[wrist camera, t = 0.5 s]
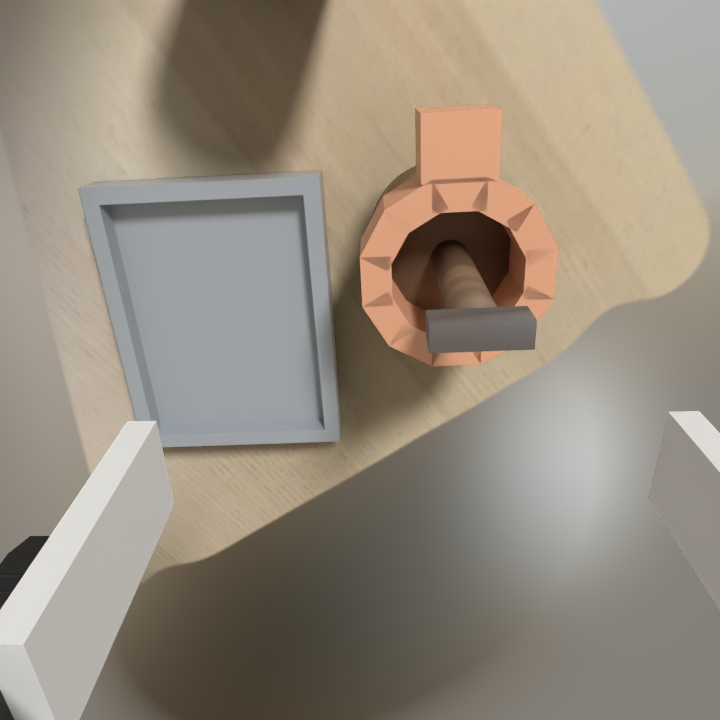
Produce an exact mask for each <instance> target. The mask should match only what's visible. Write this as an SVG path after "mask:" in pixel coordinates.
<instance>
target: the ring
mask: <svg viewBox="0 0 720 720" xmlns="http://www.w3.org/2000/svg"><path fill="white" fill-rule="evenodd" d="M502 115H503V109H502V108H499V107H495V106H492V105H489V104H486V105H468V106H450V107H432V108H415V125H416V175H414V176H413V177H411V178H410V179H408V180H407V181H405V182H404V183H402V184H401V185H399V186H398V187H396V188H395V189H393V190H391V191H390V192H388V193H387V194H385V195H384V196H383V197H382V199H381V201H380V203H379V205H378V207H377V209H376V211H375V213H374V215H373V217H372V218H371V220H370V222H369V224H368V226H367V228H366V230H365V232H364V234H363V236H362V238H361V245H360V273H361V292H362V307H363V309H364V310H365V312H366V313H367V315H368V316H369V318H370V319H371V320H372V322H373V323H374V325H375V326H376V328H377V329H378V331H379V332H380V334H381V335H382V337H383V338H384V339H385V341H386V342H387V344H388V345H389V346H390V347H392V348H394V349H396V350H398V351H400V352H403V353H405V354H407V355H409V356H411V357H413V358H415V359H417V360H419V361H421V362H424V363H426V364H428V365H430V366H457V365H481V364H483V363H485V362H486V361H488V360H490V359H492V358H494V357H496V356H498V355H499V354H501V353H503V352H505V351H481V352H456V353H430V354H429V350H428V345H427V340H426V310H424V309H422V308H420V307H418V306H416V305H414V304H412V303H410V302H408V301H406V299H405V298H404V296H403V295H402V293H401V292H400V290H399V289H398V287H397V285H396V284H395V282H394V281H393V279H392V269H391V264H392V262H393V261H394V259H395V257H396V255H397V253H398V252H399V250H400V248H401V246H402V244H403V242H404V241H405V239H406V237H407V235H408V233H409V232H411V231H413V230H414V229H416V228H417V227H419V226H421V225H422V224H424V223H425V222H427V221H429V220H430V219H432V218H433V217H435V216H437V215H438V214H440V213H449V212H470V211H479V212H481V213H483V214H485V215H486V216H488V217H490V218H492V219H494V220H496V221H498V222H499V223H501V224H503V226H504V228H505V230H506V232H507V234H508V235H509V237H510V239H511V243H510V259H509V271H508V273H507V274H506V276H505V277H504V279H503V281H502V282H501V284H500V285H499V287H498V288H497V290H496V291H495V293H494V294H493V296H492V298H493V300H494V302H495V304H496V306H497V307H511V306H528V307H529V309H530V310H531V312H532V313H533V315H534V316H535V318H536V319H537V323H538V321H539V320H540V318H541V317H542V316H543V314H544V313H545V311H546V310H547V308H548V307H549V306H550V304H551V303H552V301H553V300H554V294H555V284H556V273H557V263H558V253H559V248H558V246H557V244H556V242H555V240H554V238H553V236H552V234H551V232H550V230H549V228H548V226H547V225H546V223H545V221H544V219H543V217H542V215H541V213H540V211H539V209H538V207H537V205H536V203H535V202H534V201H532V200H531V199H530V198H529V197H527V196H526V195H525V194H524V193H523V192H521V191H520V190H519V189H517V188H515V187H514V186H512V185H510V184H508V183H506V182H505V181H503V180H501V179H499V176H500V156H501V136H502Z"/></svg>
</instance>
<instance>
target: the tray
mask: <svg viewBox="0 0 720 720" xmlns="http://www.w3.org/2000/svg"><path fill="white" fill-rule="evenodd" d="M78 191H79V195H80V199H81V203H82V207H83V211H84V215H85V219H86V223H87V226H88V230H89V234H90V238H91V242H92V246H93V250H94V254H95V258H96V262H97V266H98V270H99V274H100V278H101V282H102V286H103V290H104V294H105V298H106V302H107V306H108V309H109V313H110V317H111V321H112V325H113V329H114V333H115V337H116V341H117V345H118V349H119V353H120V357H121V361H122V365H123V369H124V373H125V377H126V381H127V385H128V389H129V392H130V396H131V400H132V404H133V408H134V412H135V416H136V420H137V421H157V425H158V430H159V434H160V439H161V444H162V447H188V446H218V445H248V444H277V443H307V442H337V441H340V437H341V425H342V424H341V411H340V398H339V385H338V372H337V359H336V346H335V333H334V320H333V306H332V293H331V280H330V267H329V254H328V241H327V228H326V215H325V202H324V189H323V176H322V170H318V171H299V172H279V173H260V174H240V175H221V176H201V177H182V178H162V179H143V180H123V181H104V182H93V183H90V184H88V185H85V186H83V187H80V188H78Z"/></svg>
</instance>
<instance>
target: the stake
mask: <svg viewBox="0 0 720 720" xmlns="http://www.w3.org/2000/svg"><path fill="white" fill-rule="evenodd" d="M414 175H416V166H415V167H412V168H411V169H409V170H407V171H405V172H404V173H402V174H401V175H400V176H398V177H397V178H396V179H395V180H394V181H393V182H392V183H391V184H390V185H389V186H388V187H387V188H386V190H385V191H384V192H383V194H382V196H381V197H380V199H379V201H378V203H377V205H376V208H375V211H376V209H377V207H378V205H379V203H380V201H381V199H382V197H383V196H384V195H385V194H387V193H388V192H390V191H391V190H393V189H395V188H396V187H398V186H399V185H401V184H402V183H404V182H405V181H407V180H408V179H410V178H411V177H413V176H414ZM375 211H374V213H375ZM510 243H511V239H510V237H509V235H508V234H507V232H506V230H505V228H504V226H503V224H501V223H499V222H498V221H496V220H494V219H492V218H490V217H488V216H486V215H485V214H483V213H481V212H479V211H470V212H449V213H440V214H438V215H437V216H435V217H433V218H432V219H430V220H429V221H427V222H425V223H424V224H422V225H421V226H419V227H417V228H416V229H414V230H413V231H411V232H409V233H408V235H407V237H406V239H405V241H404V242H403V244H402V246H401V248H400V250H399V252H398V253H397V255H396V257H395V259H394V261H393V262H392V264H391V269H392V279H393V281H394V282H395V284H396V285H397V287H398V289H399V290H400V292H401V293H402V295H403V296H404V298H405V299H406V301H408V302H410V303H412V304H414V305H416V306H418V307H420V308H422V309H424V310H426V340H427V345H428V350H429V354H430V353H456V352H481V351H507V350H532V349H535V338H536V326H537V319H536V318H535V316H534V315H533V313H532V312H531V310H530V309H529V307H528V306H511V307H497V306H496V304H495V302H494V300H493V298H492V296H493V294H494V293H495V291H496V290H497V288H498V287H499V285H500V284H501V282H502V281H503V279H504V277H505V276H506V274H507V273H508V271H509V259H510Z"/></svg>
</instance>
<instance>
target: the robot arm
mask: <svg viewBox="0 0 720 720" xmlns="http://www.w3.org/2000/svg"><path fill="white" fill-rule="evenodd" d="M648 498H649V500H650V501H651V502H652V504H653V506H654V507H655V509H656V510H657V512H658V514H659V515H660V517H661V518H662V520H663V522H664V523H665V525H666V526H667V528H668V529H669V531H670V533H671V534H672V536H673V537H674V539H675V540H676V542H677V544H678V545H679V547H680V548H681V550H682V552H683V553H684V554H685V556H686V558H687V559H688V561H689V562H690V564H691V566H692V567H693V569H694V570H695V572H696V574H697V575H698V577H699V578H700V580H701V581H702V583H703V585H704V586H705V587H706V589H707V591H708V592H709V594H710V596H711V597H712V599H713V600H714V602H715V603H716V605H717V606H718V608H719V610H720V433H719V432H718V431H717V430H716V429H715V428H714V427H713V426H712V424H711V423H710V422H709V421H708V420H707V419H706V418H705V417H704V416H703V415H702V414H701V413H700V412H699V411H685V412H668V416H667V420H666V424H665V429H664V433H663V437H662V442H661V446H660V450H659V454H658V459H657V463H656V467H655V472H654V475H653V479H652V484H651V488H650V492H649V496H648ZM174 504H175V503H174V499H173V494H172V490H171V485H170V480H169V476H168V471H167V467H166V462H165V457H164V453H163V448H162V444H161V439H160V434H159V430H158V425H157V421H127V423H126V424H125V426H124V427H123V429H122V430H121V432H120V433H119V435H118V436H117V438H116V439H115V440H114V442H113V443H112V445H111V446H110V448H109V449H108V451H107V452H106V454H105V455H104V457H103V458H102V460H101V461H100V463H99V464H98V466H97V467H96V469H95V470H94V472H93V473H92V475H91V476H90V478H89V479H88V481H87V482H86V483H85V485H84V487H83V488H82V489H81V491H80V492H79V494H78V496H77V497H76V498H75V500H74V501H73V503H72V504H71V506H70V507H69V509H68V510H67V512H66V513H65V515H64V516H63V518H62V519H61V521H60V522H59V523H58V525H57V527H56V528H55V530H54V531H53V533H52V534H51V536H30V537H29V538H28V539H26V540H25V541H24V542H22V543H21V544H20V545H19V546H17V547H16V548H15V549H13V550H12V551H11V552H10V553H8V555H7V556H6V557H5V559H4V560H3V561H2V563H1V564H0V720H79V719H80V717H81V714H82V712H83V710H84V708H85V705H86V703H87V701H88V699H89V696H90V694H91V692H92V690H93V687H94V685H95V683H96V681H97V678H98V676H99V674H100V672H101V669H102V667H103V665H104V662H105V660H106V658H107V656H108V653H109V651H110V649H111V647H112V644H113V642H114V640H115V638H116V635H117V633H118V631H119V629H120V626H121V624H122V622H123V620H124V617H125V615H126V613H127V611H128V608H129V606H130V604H131V602H132V599H133V597H134V595H135V592H136V590H137V588H138V586H139V583H140V581H141V579H142V577H143V574H144V572H145V570H146V568H147V565H148V563H149V561H150V559H151V556H152V554H153V552H154V550H155V547H156V545H157V543H158V540H159V538H160V536H161V534H162V531H163V529H164V527H165V525H166V522H167V520H168V518H169V516H170V513H171V511H172V509H173V507H174Z"/></svg>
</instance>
